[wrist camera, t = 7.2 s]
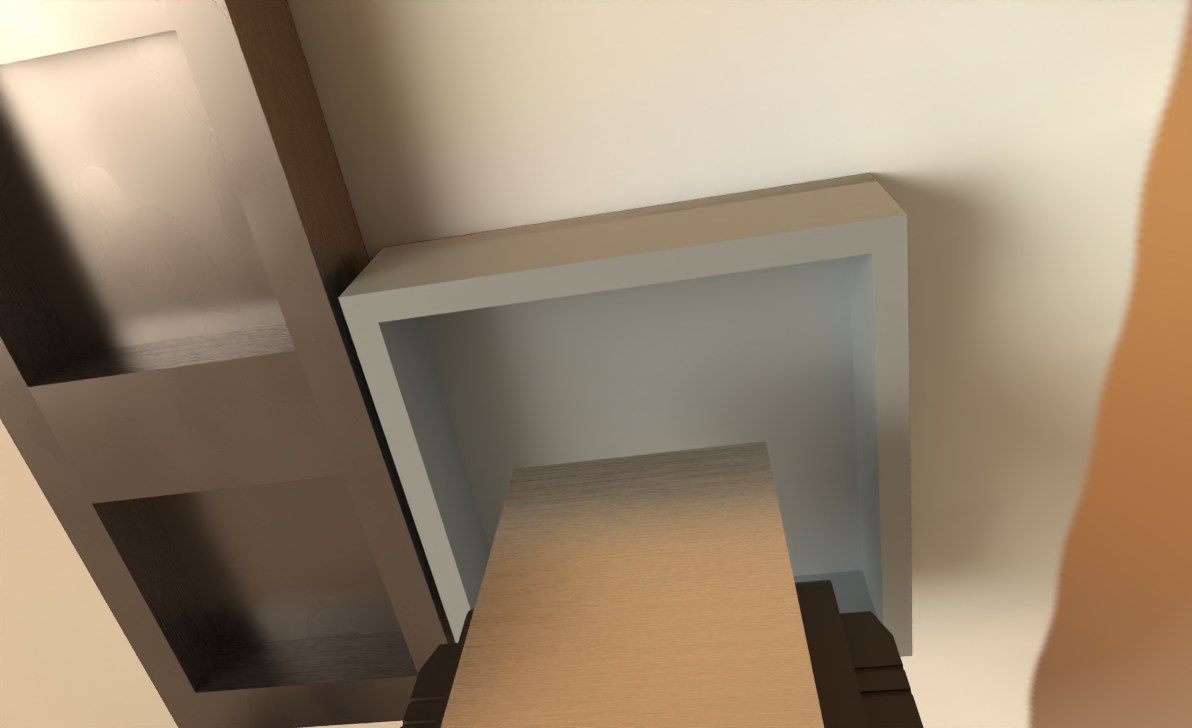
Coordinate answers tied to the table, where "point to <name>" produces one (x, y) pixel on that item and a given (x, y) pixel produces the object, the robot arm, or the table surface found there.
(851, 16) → the table surface
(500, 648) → the brown rectangular block
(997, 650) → the table surface
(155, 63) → the grey compartment tray
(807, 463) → the tray
